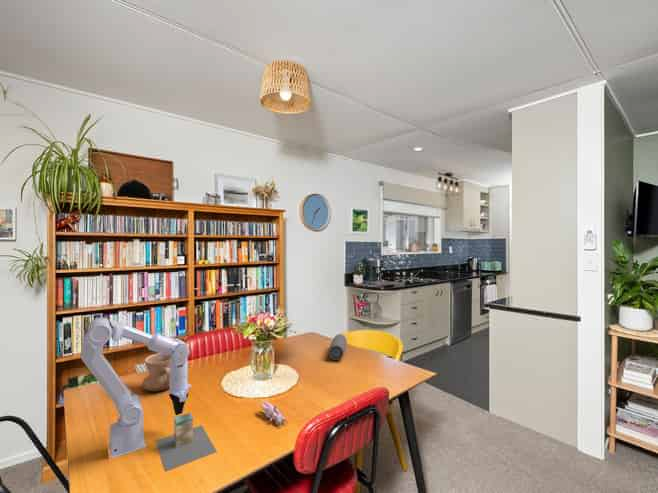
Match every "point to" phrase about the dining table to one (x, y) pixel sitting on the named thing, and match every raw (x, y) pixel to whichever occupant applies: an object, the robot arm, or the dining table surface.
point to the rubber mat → (184, 449)
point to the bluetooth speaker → (338, 347)
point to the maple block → (183, 429)
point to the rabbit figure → (273, 413)
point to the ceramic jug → (157, 372)
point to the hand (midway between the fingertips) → (178, 413)
